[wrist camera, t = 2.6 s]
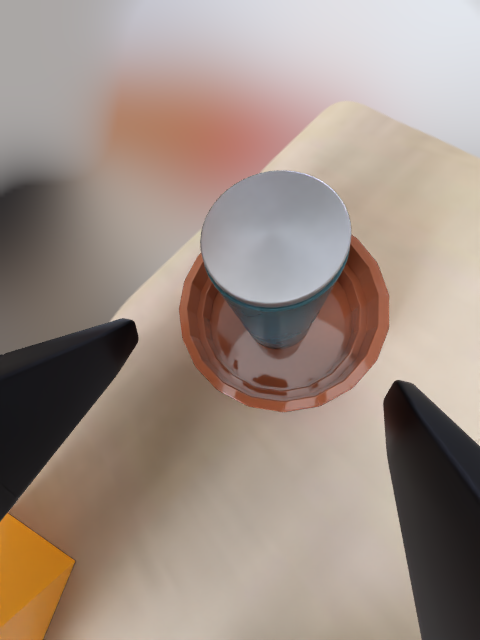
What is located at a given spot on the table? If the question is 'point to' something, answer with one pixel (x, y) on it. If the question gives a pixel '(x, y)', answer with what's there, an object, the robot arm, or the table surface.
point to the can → (276, 252)
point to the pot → (298, 360)
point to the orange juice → (28, 581)
